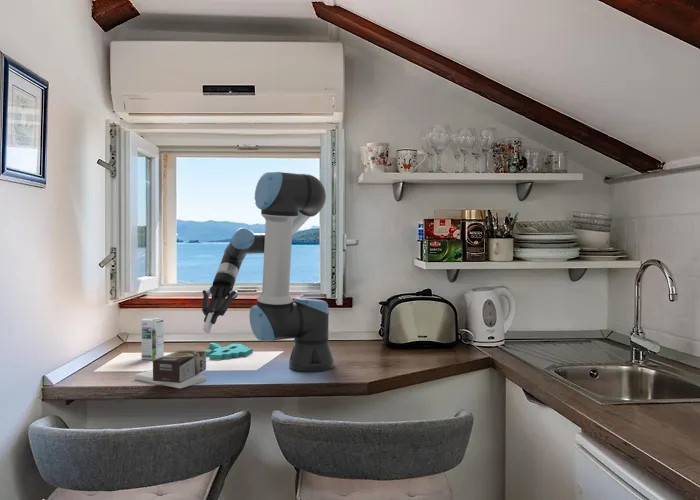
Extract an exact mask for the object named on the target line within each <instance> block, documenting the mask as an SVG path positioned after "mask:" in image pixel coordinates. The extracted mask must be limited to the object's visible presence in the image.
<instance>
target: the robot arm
mask: <svg viewBox="0 0 700 500" xmlns="http://www.w3.org/2000/svg"><path fill="white" fill-rule="evenodd" d="M326 199H327V193H326V189H325V187H324V184H323V183H322V181H321V180H320V179H319V178H317V177H316V176H314V175H312V174H308V173H294V172H283V171H267V172H265V173H263V174H262V175H261V176H260V177H259V179H258V181H257V183H256V186H255V190H254V201H255V203H254V204H255V206H256V208H257V209H259V210H260V214H261V216H262V217H263V218H264V221H265V227H264V233H254V232H253V230H250V229H249V228H248V229H247V228H246V227H240V228H239V229H237V230H235V232H234V233H233V234H232V236H231V239H230V241H229V243H228V244H227V246H226V248H225V249H224V252H223V256H222V258H221V261H220V264H219V265H218V267H217V271H216V273H215V275H214V279H213V281H212V285H211V287H210V288H209V289H208V290H205V289H204V290H202V291H201V292H202V295H203V299H202V306H201V310H202V311H201V312H202V313H203V315H204V319H203V322H204V325H203V327H202V329H203V331H204V333H206V334H210V333H211V330H212V327H213V325H215V324H216V322H217V320H218V317H219V316H221V317H223V316H225V313H226V312H227V311H228V309H229V307H230V306H231V304H232V303H233V301H234V300H235V299H237V297H238V294H237V292H236V290H233V289H234V286H235V284H236V280H237V278H238V275H239V272H240V268H241V266H242V264H243V261H244V260H245V257H246V256H247V254H249V255H250V254H251V255H252V254H263V269H262V288H261V289H262V292H261V294H260V295H259V296H258V297H257V299H256V305H255V304H254V305H253V306H251V307H250V310H249V316H248V317H249V324H250V327H251V330H252V334H253V335H254V336H255V338H256V339H257V340H259V341H260V342H274V341H281V340H282V341H283V340H290V339H294V340H293V342H294V343H293V344H294V345H293V347H292V350H291V353H290V357H289V360H288V361H289V362H288V367H289V369H290V370H293V371H296V372H305V373H307V372H309V373H315V372H323V371H325V372H326V371H329V370H331V369H333V368H334V366H335V363H334V361H335V360H334V357H333V354H332V351H331V347H330V345H329V342H330V341H329V324H330V323H329V322H330V321H329V315H330V312H329V304H328V302H327V301H326V300H321V299H316V298H306V297H294V299H293V298H292V296H291V295H290V280H291V279H290V278H291V262H292V241H293V236H294V235H295V234H296V233H297V232H298V230H299V229H301V227H302V226H303V225H304V224H305V223H306V222H307V221H308V220H309V219H310V218H312V217H316V215H318V214H319V213H320V212H321V211H322V209H323V208H324V205H325V203H326ZM210 295H211V297H210ZM209 300H210V301H209Z"/></svg>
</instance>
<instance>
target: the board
mask: <svg viewBox="0 0 700 500" xmlns="http://www.w3.org/2000/svg"><path fill="white" fill-rule="evenodd" d="M134 375H135V376H134V378H135V379H134V380H137V381H142V382H147V383H152V384H156V385H161V386H165V387H171V388H176V389H183V388H186V387H189V386H194V385H196V384H199V383H203V382H205V381H206V379H207V378H206V375H205V374H204V375H203V374H199V373H198V374H196V375H194V376H192V377H190V378H188V379H186V380H184V381H182V382H180V383H176V382H162V381H153V369H151V370H148V371H143V372H140V373H135V374H134Z"/></svg>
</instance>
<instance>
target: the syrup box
mask: <svg viewBox="0 0 700 500" xmlns="http://www.w3.org/2000/svg"><path fill="white" fill-rule="evenodd" d="M164 320H165V319H164V318H160V317H145V318H142V319H141V320H140V321H141V322H140V323H141V325H140V326H141V330H140V331H141V360H150V361H153V360H155V359H158V358H161V357H163V356H165V354H164V353H165V351H164V349H165V348H164V340H165V339H164V330H165V329H164V324H165V323H164V322H165V321H164Z"/></svg>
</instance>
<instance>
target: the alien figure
mask: <svg viewBox="0 0 700 500" xmlns="http://www.w3.org/2000/svg"><path fill="white" fill-rule="evenodd" d="M210 349H211V350H210ZM205 351H206V357H208V358H209V360H210V361H211V360H212V361H215V360H216V361H221V360H230V359H232V358H233V359H234V358H236V359H239V358H241V357H242V358H243V357H248V356H250V355H251V354H253V351H254V349H253V348H251V347H250V346H247V345H245V344H243V343H231V344H229V345H227V346H223V345H220V344H218V342H211V343H209V344H208V349H207V350H205Z"/></svg>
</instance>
